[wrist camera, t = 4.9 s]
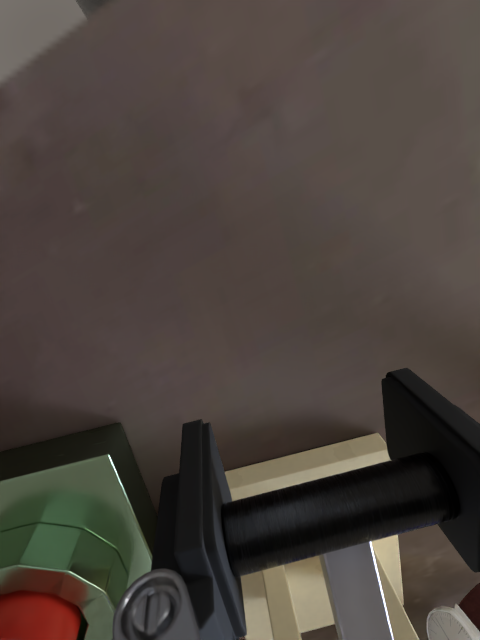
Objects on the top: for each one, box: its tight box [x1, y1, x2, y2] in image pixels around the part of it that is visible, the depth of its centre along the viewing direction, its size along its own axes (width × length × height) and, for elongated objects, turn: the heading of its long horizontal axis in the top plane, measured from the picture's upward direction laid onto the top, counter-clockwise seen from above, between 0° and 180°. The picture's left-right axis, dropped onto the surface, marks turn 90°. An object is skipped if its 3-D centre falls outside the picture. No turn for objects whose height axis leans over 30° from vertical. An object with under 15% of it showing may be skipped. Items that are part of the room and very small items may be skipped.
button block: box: [0, 422, 158, 640], centre depth 15 cm, size 11×9×4 cm
